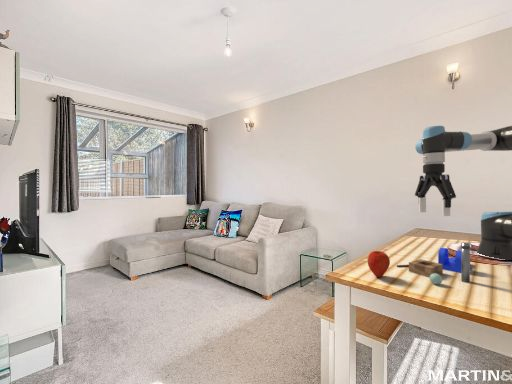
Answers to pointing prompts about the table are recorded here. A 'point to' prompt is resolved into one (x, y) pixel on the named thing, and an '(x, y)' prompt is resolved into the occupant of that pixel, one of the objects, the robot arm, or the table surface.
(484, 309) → the table surface
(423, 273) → the square wooden ring
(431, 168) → the robot arm
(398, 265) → the thin dark grey rod
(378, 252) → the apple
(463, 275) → the grey metal cylinder rod
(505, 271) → the table surface
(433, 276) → the loose teal bead
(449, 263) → the bracket
